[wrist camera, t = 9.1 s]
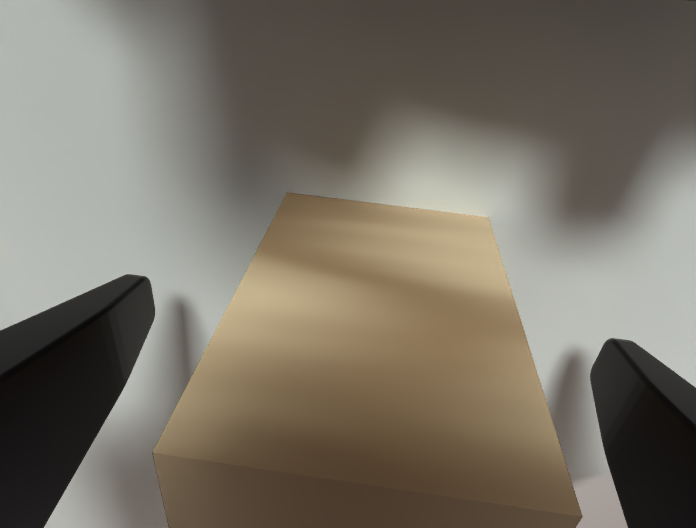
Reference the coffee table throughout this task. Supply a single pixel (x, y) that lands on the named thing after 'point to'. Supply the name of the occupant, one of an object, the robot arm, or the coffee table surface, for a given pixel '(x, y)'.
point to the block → (367, 385)
